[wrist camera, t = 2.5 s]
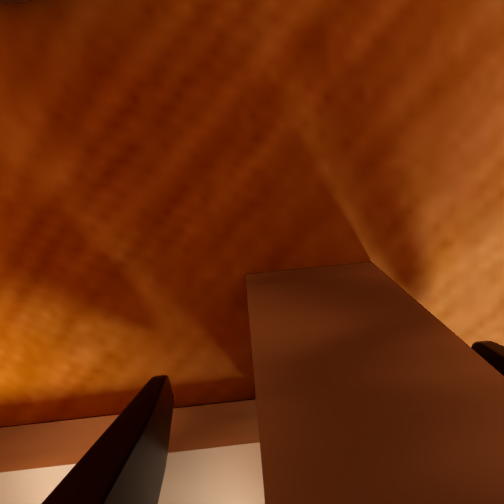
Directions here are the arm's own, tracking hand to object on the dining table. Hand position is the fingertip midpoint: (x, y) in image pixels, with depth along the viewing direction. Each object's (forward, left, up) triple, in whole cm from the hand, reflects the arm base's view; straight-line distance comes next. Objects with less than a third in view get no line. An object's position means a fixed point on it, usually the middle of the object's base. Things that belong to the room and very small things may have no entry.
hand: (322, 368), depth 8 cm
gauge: (0, +4, -2) cm, 4 cm away
